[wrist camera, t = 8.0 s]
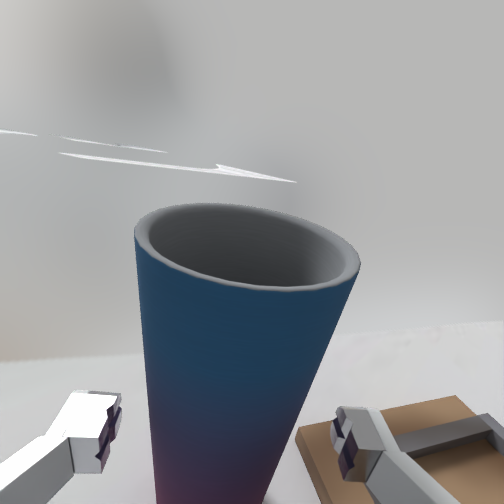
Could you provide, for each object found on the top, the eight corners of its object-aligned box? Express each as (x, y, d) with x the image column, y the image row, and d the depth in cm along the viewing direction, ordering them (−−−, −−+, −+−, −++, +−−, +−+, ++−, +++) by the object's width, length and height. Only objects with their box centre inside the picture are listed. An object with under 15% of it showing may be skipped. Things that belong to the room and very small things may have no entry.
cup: (106, 521, 13) (77, 223, 7) (199, 414, 19) (225, 195, 13) (222, 652, 11) (321, 336, 5) (291, 481, 16) (376, 239, 10)
